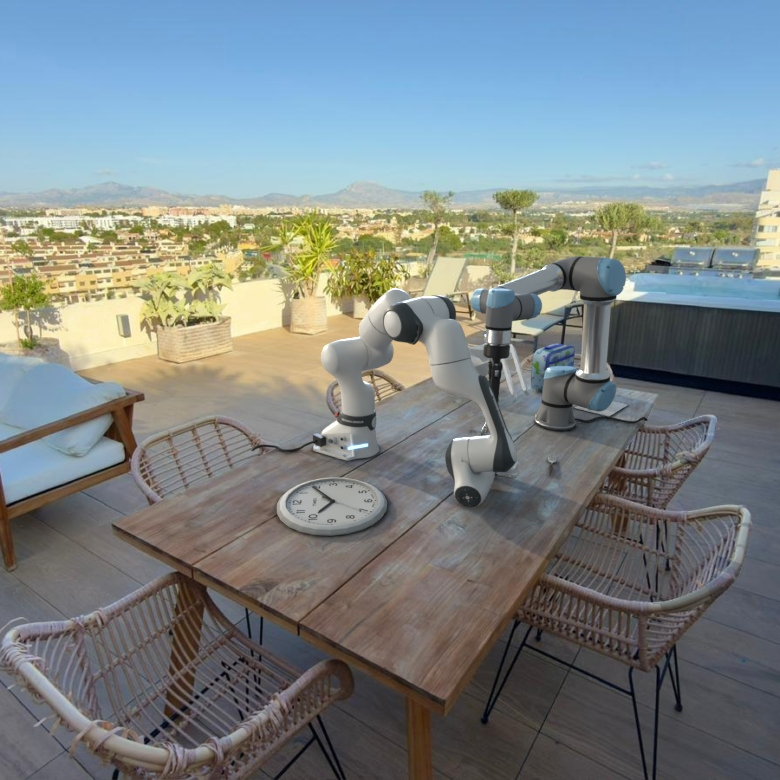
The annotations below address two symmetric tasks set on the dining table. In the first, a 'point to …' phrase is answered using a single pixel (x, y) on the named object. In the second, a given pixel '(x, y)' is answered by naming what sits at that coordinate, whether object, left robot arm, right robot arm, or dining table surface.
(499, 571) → the dining table surface
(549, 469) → the fork
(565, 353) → the lunch box
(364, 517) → the wall clock
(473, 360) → the white plastic object
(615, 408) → the invitation card
